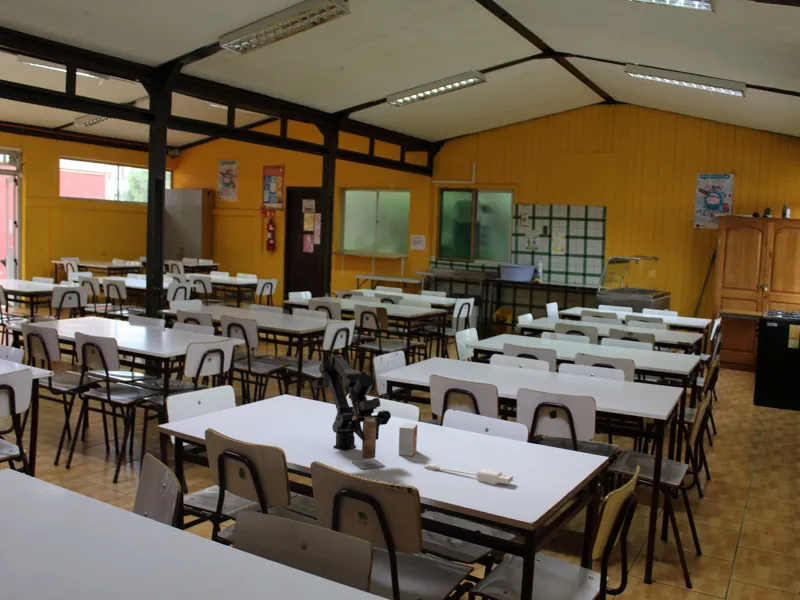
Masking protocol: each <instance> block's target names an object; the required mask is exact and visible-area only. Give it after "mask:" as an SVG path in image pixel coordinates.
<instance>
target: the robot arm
mask: <svg viewBox="0 0 800 600" xmlns="http://www.w3.org/2000/svg"><path fill="white" fill-rule="evenodd" d="M318 370H319V374H320V375H321V377H322V379H323V380H324V381H325V382H327V383H328V385H329V389H330V393H331V396H332V398H333V402H334V405H335V407H336V411H337V412H336V415H335V418H334V421H333V424H331V425H332V431H333V432H334V433H335V445H333V448H335V449H340V450H344V451H348V450H351V449H354V448H356V446H357V445H356V444H355V434H356V436H358V438H359V439H360V440H361V442H362V441H364V440H365V438H364V434H363V427H362V426H361V423H363V420H365V417H375V420H376V421H377V423H376V441H377V440H379V433H380V426H383V425H384V426H385V425H387V424H388V422H389V421H390V419H391V417H392V414H391V412H390V411H389V410H379V411H378V412H377V414H374V412H375V410H377V408H379V407H380V406H381V400H380V398H379V397H374V398H373V399H368V397H367V395H368V394H369V392H370V390H371V388H372V387H373V385H374V378H373V377H372V376H371V375H369V374H367V371H359V370H358V369H357V370H356V369H353V368H352V367H351V365H349V363H348V362H347V361H346V360H345V357H344V355H332V356H330V357H329V358H327V359H325V360H323V361H322V362H321V363H320V364H319V366H318ZM340 377H341V378H340ZM341 380H342V381H341ZM344 388H345V389H350V390H349V393H348V398H347V396H346V393H345V390H344ZM348 399H349V400H350V402H351V406H349V402H348Z"/></svg>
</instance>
